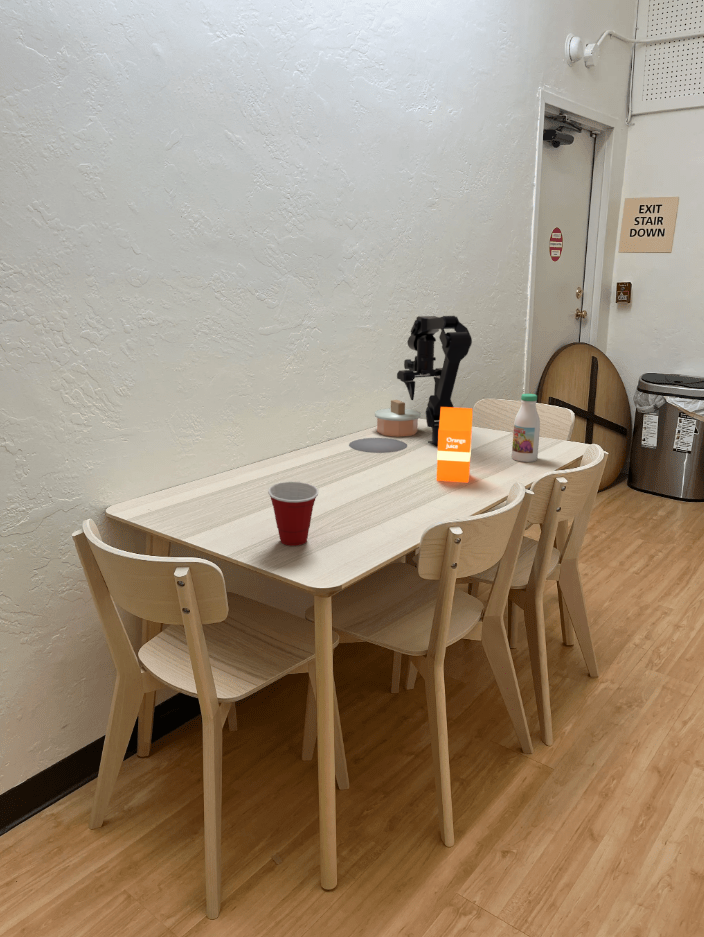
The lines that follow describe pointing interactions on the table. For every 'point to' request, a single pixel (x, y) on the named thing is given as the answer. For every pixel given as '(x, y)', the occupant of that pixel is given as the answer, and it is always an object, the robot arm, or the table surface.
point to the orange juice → (454, 444)
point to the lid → (397, 412)
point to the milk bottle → (526, 430)
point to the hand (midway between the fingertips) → (423, 399)
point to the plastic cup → (293, 510)
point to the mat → (378, 445)
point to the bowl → (397, 427)
